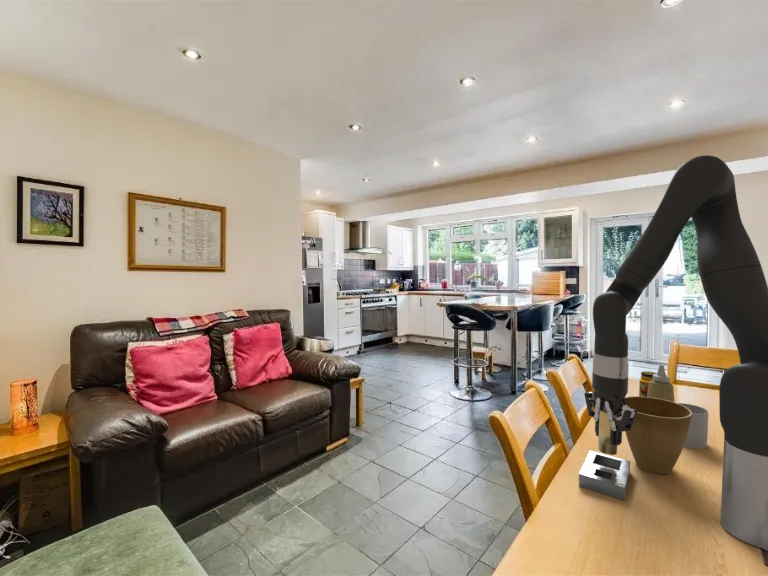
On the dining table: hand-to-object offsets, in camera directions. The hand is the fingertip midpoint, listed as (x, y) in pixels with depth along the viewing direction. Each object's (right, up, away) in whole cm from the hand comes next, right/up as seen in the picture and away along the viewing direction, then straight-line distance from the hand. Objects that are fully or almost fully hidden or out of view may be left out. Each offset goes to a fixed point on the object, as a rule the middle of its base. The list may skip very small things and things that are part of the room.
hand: (607, 440), depth 91 cm
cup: (+34, -8, +17) cm, 39 cm away
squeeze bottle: (+39, -7, +35) cm, 53 cm away
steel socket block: (-2, -9, -2) cm, 9 cm away
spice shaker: (0, -3, 0) cm, 3 cm away
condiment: (+44, -6, +47) cm, 65 cm away
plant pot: (+14, -9, +4) cm, 16 cm away
